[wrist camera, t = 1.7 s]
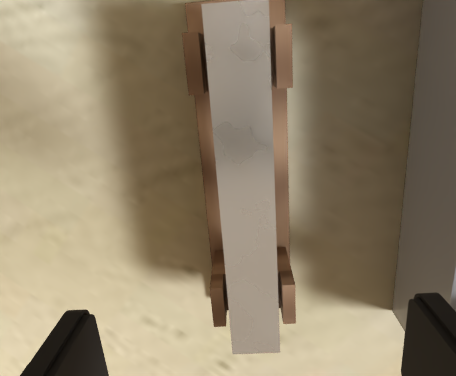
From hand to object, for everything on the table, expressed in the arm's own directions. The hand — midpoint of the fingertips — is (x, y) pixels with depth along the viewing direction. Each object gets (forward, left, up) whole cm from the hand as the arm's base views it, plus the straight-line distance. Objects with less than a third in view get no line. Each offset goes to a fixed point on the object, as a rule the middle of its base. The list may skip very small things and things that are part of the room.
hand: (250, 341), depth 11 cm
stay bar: (0, 0, -11) cm, 11 cm away
